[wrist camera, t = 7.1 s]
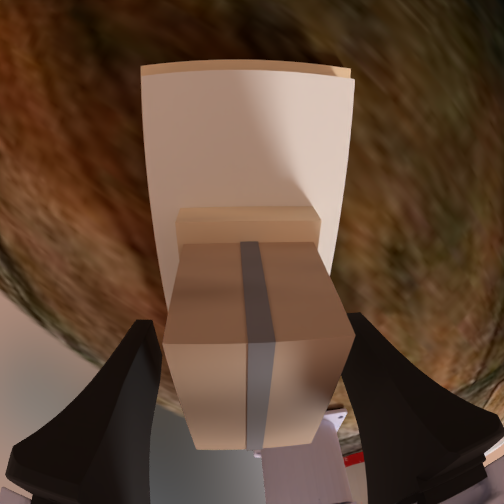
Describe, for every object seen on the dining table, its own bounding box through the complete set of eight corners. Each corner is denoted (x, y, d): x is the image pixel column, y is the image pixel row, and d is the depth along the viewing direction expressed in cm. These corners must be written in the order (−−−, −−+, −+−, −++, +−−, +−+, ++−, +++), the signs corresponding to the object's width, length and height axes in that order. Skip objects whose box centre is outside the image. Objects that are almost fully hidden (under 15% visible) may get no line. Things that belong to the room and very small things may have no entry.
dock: (345, 69, 10) (368, 68, 8) (300, 377, 20) (306, 403, 18) (144, 66, 10) (126, 64, 8) (186, 381, 20) (184, 408, 18)
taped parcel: (292, 352, 15) (312, 450, 10) (198, 355, 15) (194, 457, 10) (313, 206, 11) (372, 310, 6) (180, 207, 11) (146, 319, 6)
